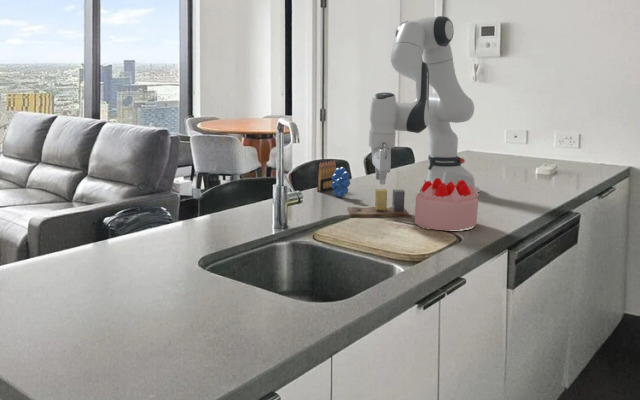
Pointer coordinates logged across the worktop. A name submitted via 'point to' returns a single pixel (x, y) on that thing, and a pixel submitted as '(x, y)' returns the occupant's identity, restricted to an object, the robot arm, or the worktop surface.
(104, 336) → the worktop surface
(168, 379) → the worktop surface
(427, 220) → the cake
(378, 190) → the wooden block
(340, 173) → the grapes
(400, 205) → the grey rectangular block
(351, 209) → the brown flat rectangular board
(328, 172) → the ammunition clip
